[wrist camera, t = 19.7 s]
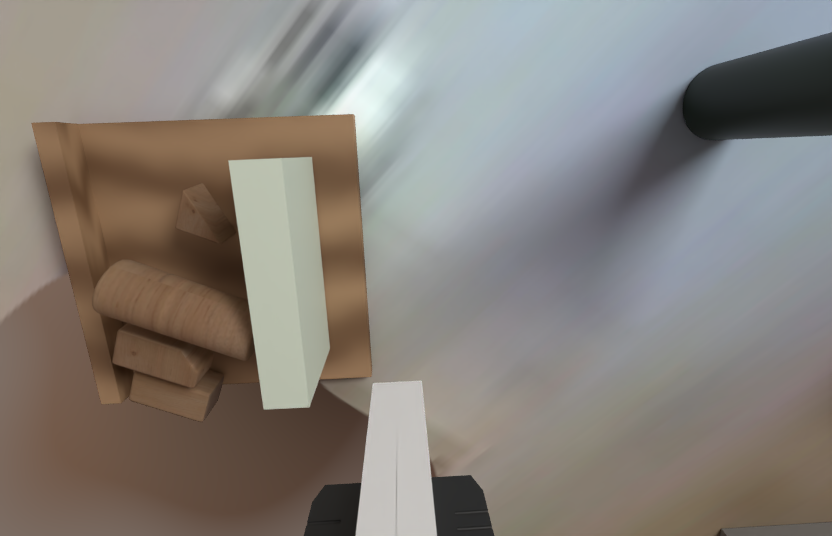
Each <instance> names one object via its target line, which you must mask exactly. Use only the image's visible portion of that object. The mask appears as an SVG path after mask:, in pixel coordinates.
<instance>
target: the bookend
mask: <svg viewBox="0 0 832 536" xmlns="http://www.w3.org/2000/svg"><path fill="white" fill-rule="evenodd" d="M228 162H229V169H230V176H231V183H232V190H233V197H234V204H235V211H236V218H237V225H238V232H239V239H240V246H241V253H242V261H243V268H244V275H245V282H246V289H247V296H248V303H249V310H250V317H251V324H252V331H253V338H254V345H255V352H256V359H257V366H258V373H259V380H260V387H261V394H262V401H263V408H264V409H283V408H302V407H310V404H311V401H312V398H313V395H314V392H315V390H316V387H317V384H318V381H319V378H320V375H321V373H322V370H323V367H324V364H325V361H326V358H327V356H328V353H329V350H330V343H329V332H328V322H327V311H326V301H325V290H324V279H323V269H322V258H321V248H320V237H319V227H318V216H317V205H316V195H315V184H314V174H313V163H312V157H296V158H271V159H249V160H228Z"/></svg>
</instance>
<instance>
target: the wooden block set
mask: <svg viewBox="0 0 832 536" xmlns="http://www.w3.org/2000/svg"><path fill="white" fill-rule="evenodd" d="M175 228H176V229H179V230H181V231H184V232H187V233H190V234H193V235H195V236H198V237H201V238H204V239H207V240H209V241H212V242H215V243H218V244H222V243H223V242H225V241H226V240H227V239H229V238H230V237H231V236H233V235H234V234H235V233H236V231H235V229H234V228H233V226H232V225H231V223H230V222H229V221H228V219H227V218H226V216H225V215H224V213H223V212H222V210H221V209H220V207H219V206H218V204H217V203H216V202H215V200H214V199H213V197H212V196H211V194H210V193H209V191H208V190H207V188H206V187H205V185H204V184H203V183H201V184H199V185H196V186H193V187H191V188H188V189H186V190H183V191H182V196H181V201H180V206H179V211H178V216H177V221H176V225H175ZM92 307H93V309H94V310H95V311H96V312H97V313H99V314H102V315H105V316H108V317H111V318H114V319H117V320H120V321H123V322H126V323H127V324H126V325H124V326H123V327H122V328H120V329H119V330H118V332H117V336H116V342H115V348H114V354H113V360H112V362H113V363H114V364H116V365H119V366H122V367H125V368H128V369H132V370H135V372H134V375H133V380H132V385H131V391H130V396H129V399H130V400H131V401H133V402H136V403H140V404H143V405H146V406H150V407H153V408H156V409H159V410H162V411H166V412H169V413H172V414H176V415H179V416H182V417H185V418H189V419H192V420H195V421H199V422H202V421H204V420H205V418H206V417H207V416H208V414H209V413H210V411H211V409H212V408H213V407H214V405H215V403H216V402H217V401H218V398H219V394H220V391H221V387H222V384H223V380H224V374H222V373H219V372H216V371H213V370H210V369H209V368H210V367H211V364H212V360H213V357H214V352H213V351H215V352H218V353H221V354H224V355H227V356H230V357H233V358H237V359H240V360H243V361H246V360H248V359H249V358H250V357H251V356H252V355H253V353H254V352H255V345H254V338H253V331H252V324H251V317H250V310H249V303H248V300H246V299H243V298H240V297H237V296H234V295H231V294H228V293H225V292H223V291H220V290H217V289H214V288H211V287H208V286H205V285H202V284H199V283H196V282H194V281H191V280H188V279H185V278H182V277H179V276H176V275H173V274H170V273H167V272H165V271H162V270H159V269H156V268H153V267H150V266H147V265H144V264H141V263H138V262H136V261H133V260H121V261H118V262H116V263H115V264H113V265H112V266H110V267H109V268H108V269H107V270H106V272H105V273H104V274H103V275H102V277H101V278H100V280H99V281H98V283H97V285H96V287H95V289H94V292H93V296H92Z"/></svg>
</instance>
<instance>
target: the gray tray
mask: <svg viewBox="0 0 832 536" xmlns="http://www.w3.org/2000/svg"><path fill="white" fill-rule="evenodd" d="M720 536H832V522H825V523H809V524H793V525H777V526H760V527H744V528H728V529H721V534H720Z"/></svg>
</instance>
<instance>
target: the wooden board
mask: <svg viewBox="0 0 832 536" xmlns="http://www.w3.org/2000/svg"><path fill="white" fill-rule="evenodd" d="M31 124H32V128H33V132H34V136H35V140H36V144H37V148H38V152H39V156H40V160H41V164H42V168H43V172H44V176H45V180H46V184H47V188H48V192H49V196H50V200H51V204H52V208H53V212H54V216H55V220H56V224H57V228H58V232H59V236H60V240H61V244H62V248H63V252H64V256H65V260H66V264H67V268H68V272H69V276H70V280H71V284H72V289H73V293H74V297H75V301H76V305H77V308H78V313H79V316H80V321H81V324H82V329H83V332H84V337H85V341H86V345H87V349H88V353H89V357H90V361H91V365H92V369H93V373H94V377H95V381H96V385H97V389H98V393H99V397H100V401H101V404H119V403H122V402H123V401H124V400H125V399H126V398H128V397H129V396H130V391H131V385H132V380H133V375H134V372H135V370H132V369H128V368H125V367H122V366H119V365H116V364H114V363H113V362H112V360H113V354H114V348H115V342H116V336H117V332H118V330H119V329H120V328H122V327H123V326H124V325H126V324H127V323H126V322H123V321H120V320H117V319H114V318H111V317H108V316H105V315H102V314H99V313H97V312H96V311H95V310H94V309H93V307H92V296H93V292H94V289H95V287H96V285H97V283H98V281H99V280H100V278H101V277H102V275H103V274H104V273H105V272H106V270H107V269H108V268H109V267H110V266H112V265H113V264H115V263H116V262H118V261H121V260H133V261H136V262H138V263H141V264H144V265H147V266H150V267H153V268H156V269H159V270H162V271H165V272H167V273H170V274H173V275H176V276H179V277H182V278H185V279H188V280H191V281H194V282H196V283H199V284H202V285H205V286H208V287H211V288H214V289H217V290H220V291H223V292H225V293H228V294H231V295H234V296H237V297H240V298H243V299H246V300H248V296H247V289H246V282H245V275H244V268H243V261H242V253H241V246H240V239H239V232H238V225H237V218H236V211H235V204H234V197H233V190H232V183H231V176H230V169H229V162H228V160H249V159H271V158H296V157H312V163H313V174H314V184H315V195H316V205H317V216H318V227H319V237H320V248H321V258H322V269H323V279H324V290H325V301H326V311H327V322H328V332H329V343H330V350H329V353H328V356H327V358H326V361H325V364H324V367H323V370H322V373H321V375H320V378H319V379H338V378H357V377H371V375H372V361H371V347H370V332H369V317H368V303H367V288H366V274H365V259H364V245H363V230H362V216H361V201H360V187H359V172H358V158H357V143H356V128H355V116H354V115H353V114H348V115H320V116H292V117H264V118H236V119H208V120H180V121H152V122H124V123H96V124H71V123H60V122H42V123H31ZM201 183H203V184H204V185H205V187H206V188H207V190H208V191H209V193H210V194H211V196H212V197H213V199H214V200H215V202H216V203H217V204H218V206H219V207H220V209H221V210H222V212H223V213H224V215H225V216H226V218H227V219H228V221H229V222H230V223H231V225H232V226H233V228H234V229H235V231H236V233H235V234H234V235H233V236H231V237H230V238H229V239H227V240H226V241H225V242H223V243H222V244H218V243H215V242H212V241H209V240H207V239H204V238H201V237H198V236H195V235H193V234H190V233H187V232H184V231H181V230H179V229H176V228H175V225H176V221H177V216H178V211H179V206H180V201H181V196H182V191H183V190H186V189H188V188H191V187H193V186H196V185H199V184H201ZM213 352H214V357H213V360H212V364H211V367H210V368H209V369H210V370H213V371H216V372H219V373H222V374H224V380H223V384H240V383H260V380H259V373H258V366H257V359H256V352H254V353H253V355H252V356H251V357H250V358H249V359H248V360H246V361H243V360H240V359H237V358H233V357H230V356H227V355H224V354H221V353H218V352H215V351H213Z"/></svg>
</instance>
